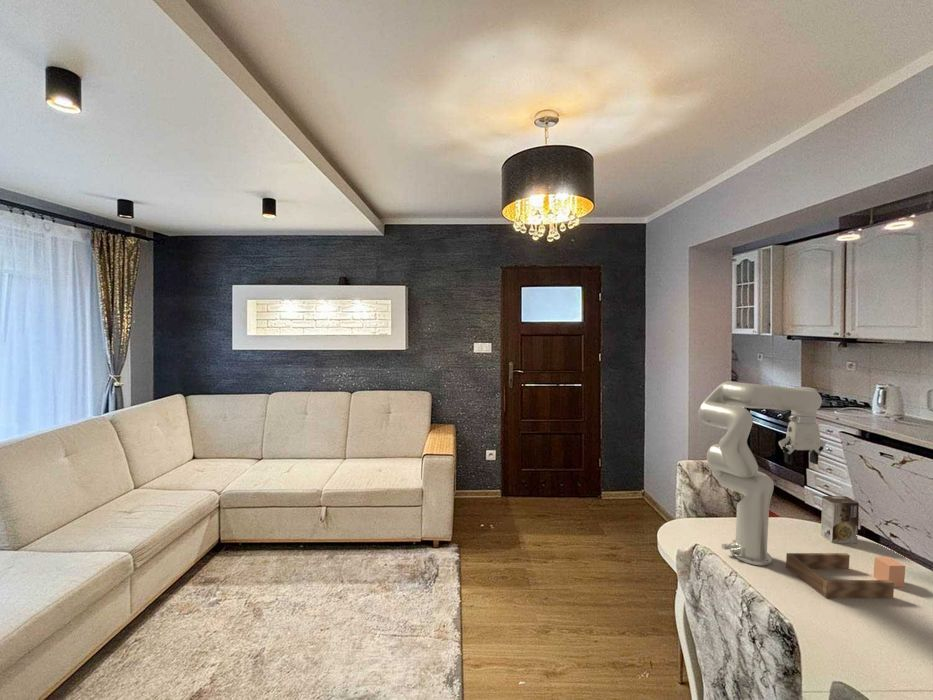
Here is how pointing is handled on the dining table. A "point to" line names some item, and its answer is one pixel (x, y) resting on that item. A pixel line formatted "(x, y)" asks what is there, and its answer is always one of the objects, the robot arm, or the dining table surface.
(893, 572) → the terracotta block
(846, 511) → the coffee box
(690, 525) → the dining table surface
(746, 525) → the robot arm
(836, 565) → the brown wooden u-shaped block
